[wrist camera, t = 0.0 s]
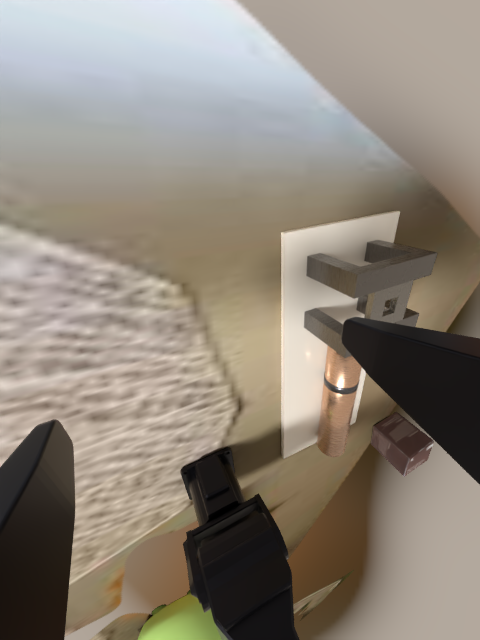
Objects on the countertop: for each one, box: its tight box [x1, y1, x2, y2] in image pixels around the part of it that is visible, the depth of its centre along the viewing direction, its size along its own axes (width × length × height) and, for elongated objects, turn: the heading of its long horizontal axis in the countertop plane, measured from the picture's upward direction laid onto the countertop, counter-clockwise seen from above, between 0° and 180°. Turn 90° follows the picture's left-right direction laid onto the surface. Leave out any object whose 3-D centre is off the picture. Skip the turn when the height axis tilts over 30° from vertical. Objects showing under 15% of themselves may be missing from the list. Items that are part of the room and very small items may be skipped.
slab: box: [281, 211, 400, 459], centre depth 33 cm, size 33×14×1 cm, turn 5°
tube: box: [317, 346, 362, 457], centre depth 35 cm, size 18×4×4 cm, turn 5°
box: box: [371, 412, 434, 476], centre depth 48 cm, size 6×6×7 cm
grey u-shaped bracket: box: [304, 240, 437, 358], centre depth 26 cm, size 8×9×6 cm
